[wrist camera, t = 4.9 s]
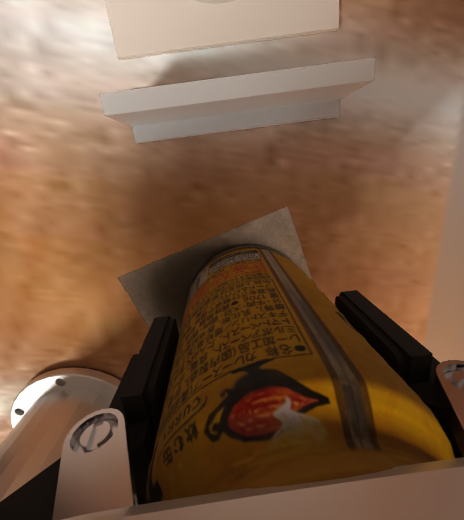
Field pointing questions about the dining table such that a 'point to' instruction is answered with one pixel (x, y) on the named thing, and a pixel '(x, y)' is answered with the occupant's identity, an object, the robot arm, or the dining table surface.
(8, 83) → the dining table surface
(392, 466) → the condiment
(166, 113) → the low wall
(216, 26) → the pad
